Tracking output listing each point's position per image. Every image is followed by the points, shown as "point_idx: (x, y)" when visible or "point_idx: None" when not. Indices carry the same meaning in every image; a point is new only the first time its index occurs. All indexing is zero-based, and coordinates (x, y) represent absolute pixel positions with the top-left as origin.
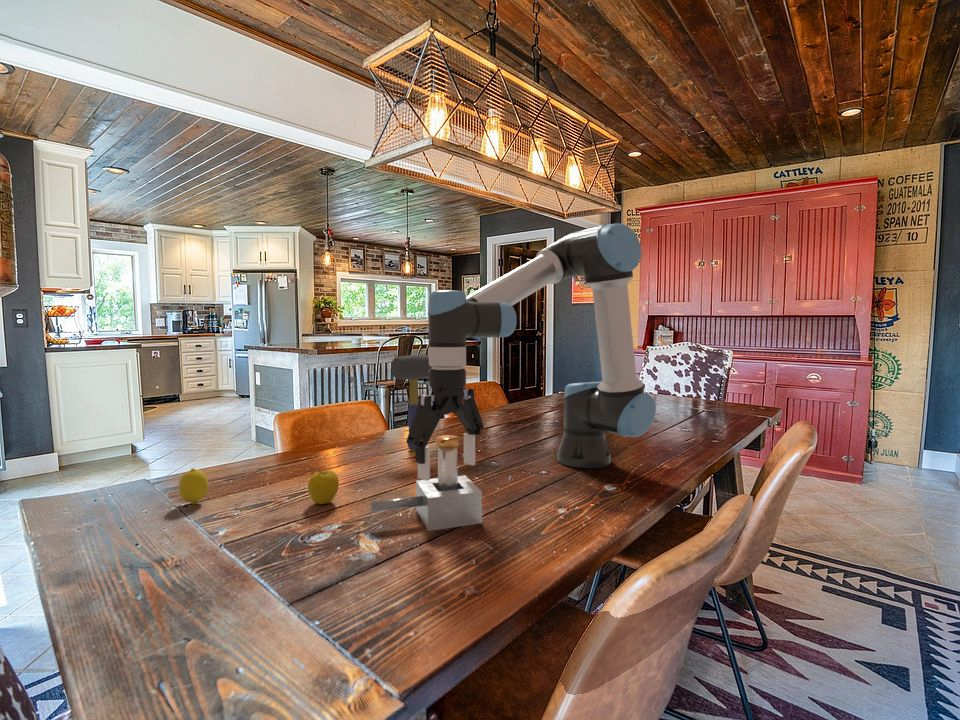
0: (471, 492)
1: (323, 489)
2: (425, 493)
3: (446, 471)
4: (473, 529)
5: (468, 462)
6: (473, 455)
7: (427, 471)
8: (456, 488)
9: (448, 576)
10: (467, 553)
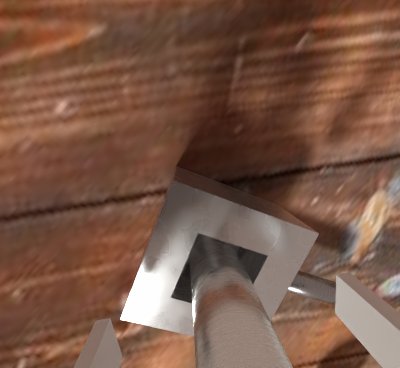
0: (202, 195)
1: None
2: (299, 264)
3: (257, 301)
4: (208, 154)
5: (113, 344)
6: (87, 365)
7: (378, 298)
8: (206, 253)
9: (370, 31)
10: (288, 77)
